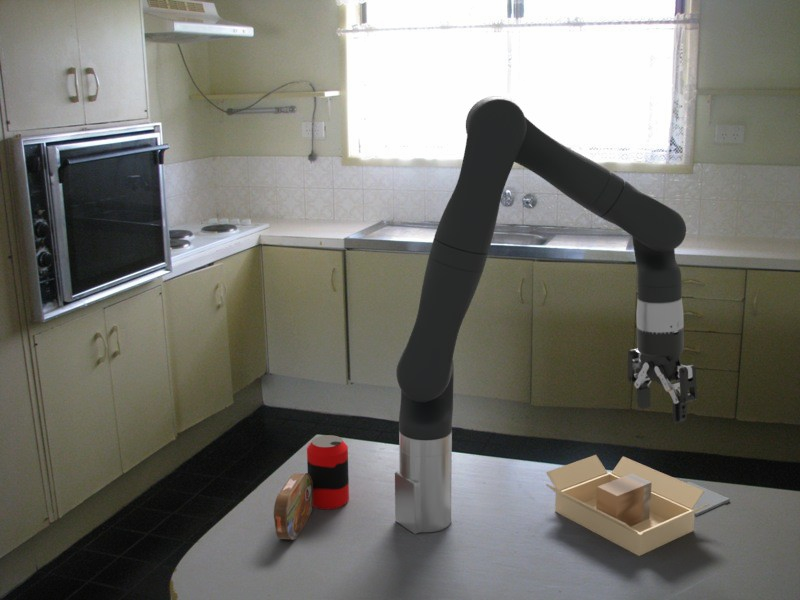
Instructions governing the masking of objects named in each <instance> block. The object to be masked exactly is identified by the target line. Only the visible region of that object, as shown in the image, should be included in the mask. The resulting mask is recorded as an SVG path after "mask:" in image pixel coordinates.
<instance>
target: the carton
mask: <svg viewBox="0 0 800 600" xmlns="http://www.w3.org/2000/svg"><path fill="white" fill-rule="evenodd" d="M545 473H546V475H547V476H548V478H549V480H550V482H551V483H552V484H553V486H552V485H550V484H548V483H546V487H547V488H549V489H550V490H551V491H553V492H554V493H555V504H554V506H555V507H554V512H555V513H557V514H559V515H561V516H562V517H564V518H567V519H568V520H570V521H572V522H574V523H576V524H578V525H580V526H582V527H583V528H585V529H587V530H589V531H590V532H593V533H594V534H596V535H599V536H601V537H602V538H604V539H606V540H608V541H610V542H611V543H613V544H614V545H615V544H616V546H619V547H621V548H623V549H625V550H627V551H629V552H630V553H632V554H634V555H637V557H640V556H642V555H644V554H646V553H649V552H651V551H654V550H655V549H658V548H660V547H662V546H664V545H666V544H669V543H670V542H672V541H674V540H677V539H679V538H681V537H684V536H685V535H687V534H689V533H692V532H694V528H695V527H694V526H695V512H696V511H698V510H700V509H703V508H705V507H707V506H709V504H707V505H705V506H702V507H700V508H698V509H695V510H692V509H693V508H694V506H695V505H696V503H697V502H698V500H699V499H700V497H701V496H702V494H703V493H704V490H701V489H699V488H697V487H694V486H692V485H690V484H687V482H685V481H682V480H679V479H678V478H675V477H673V476H671V475H669V474H666V473H663V472H662V471H661V472H660V471H659V470H656V469H655V468H654V469H653V468H651V467H650V466H647V465H644V464H642V463H639V462H637V461H635V460H633V459H630V458H628V457H626V456H623V455H622V457H621V458H620V460H619V461H618V463H617V464H616V466H615V467H614V469H613V470H612V471H607V470H606V468H605V466H604V465H603V463H602V461H601V460H600V458H599V457H598V455H597V454H594V455H591V456H589V457H586V458H582V459H580V460H577V461H574V462H572V463H568V464H565V465H562V466H561V467H560V466H559V467H557V468H554V469H550V470H548V471H546V472H545ZM629 474H634V475H636V476H638V477H641V478H643V479H645V480H647V481H650V482H652V485H651V501H650V516H649V519H647V520H645V521H642V522H640V523H638V524H635V525H633V526H631V527H630V526H629V525H627V524H626V523H624V522H622V521H620V520H618V519H616V518H614V517H612V516H610V515H608V514H606V513H604V512H602V511H600V510H598V509H596V503H597V487H598V486H600V485H603V484H605V483H608V482H611V481H613V480H616V479H619V478H621V477H624V476H626V475H629Z"/></svg>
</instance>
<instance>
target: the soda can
mask: <svg viewBox="0 0 800 600" xmlns="http://www.w3.org/2000/svg"><path fill="white" fill-rule="evenodd" d="M306 461H307V462H306V463H307V473H308V474H309V475H310V476H311V479H312V484H313V506H312V507H314V508H317V509H320V510H334V509H339V508H341V507H343V506H345V505H346V504H347V503H348V502H349V499H350V493H349V492H350V487H349V486H350V485H349V483H350V482H349V480H350V479H349V447H348V445H347V444H346V442H344V440H343V439H342V437H339V436H338V435H332V434H331V435H330V434H328V435H327V434H326V435H320V436H316V437H315V438H313V439H312V440H311V442H310V443H309V444H308V446H307V447H306Z"/></svg>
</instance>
